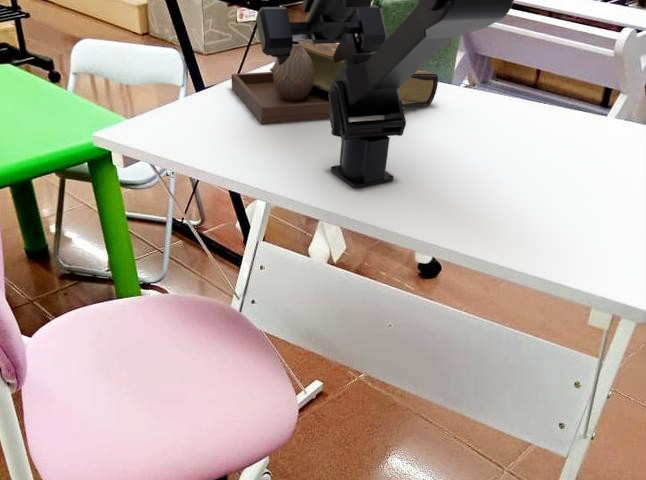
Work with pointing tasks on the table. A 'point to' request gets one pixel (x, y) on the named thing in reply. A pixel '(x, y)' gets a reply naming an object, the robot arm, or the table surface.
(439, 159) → the table surface
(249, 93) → the tray
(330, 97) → the robot arm
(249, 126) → the table surface
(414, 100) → the book
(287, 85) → the vase
